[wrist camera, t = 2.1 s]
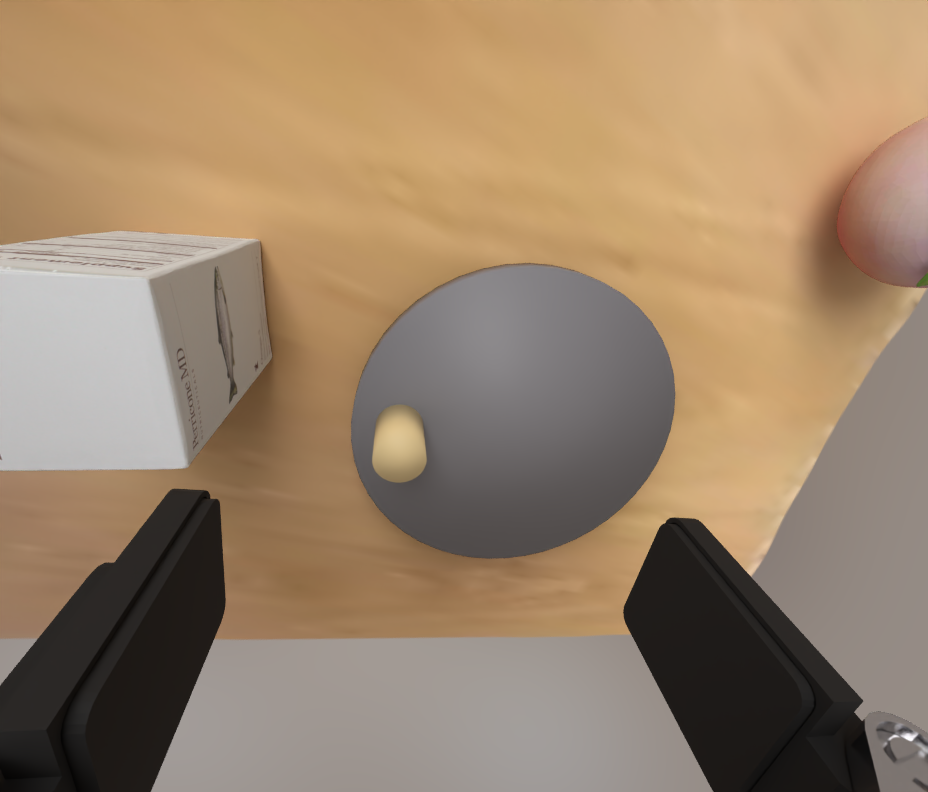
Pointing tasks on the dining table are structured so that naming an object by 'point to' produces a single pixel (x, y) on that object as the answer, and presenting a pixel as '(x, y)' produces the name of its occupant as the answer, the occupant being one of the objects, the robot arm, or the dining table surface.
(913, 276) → the decorative fruit
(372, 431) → the disc
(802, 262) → the dining table surface
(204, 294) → the supplement box
